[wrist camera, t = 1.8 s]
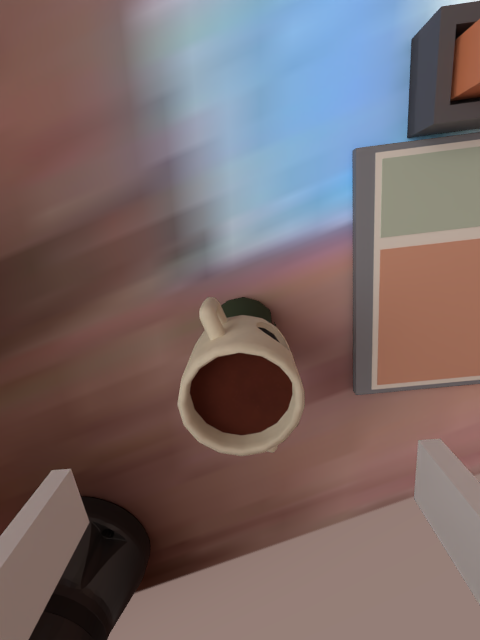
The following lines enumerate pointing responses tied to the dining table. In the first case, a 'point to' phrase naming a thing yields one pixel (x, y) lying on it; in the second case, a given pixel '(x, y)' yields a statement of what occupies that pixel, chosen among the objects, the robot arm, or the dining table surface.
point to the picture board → (416, 264)
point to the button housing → (440, 75)
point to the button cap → (466, 65)
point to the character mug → (240, 381)
